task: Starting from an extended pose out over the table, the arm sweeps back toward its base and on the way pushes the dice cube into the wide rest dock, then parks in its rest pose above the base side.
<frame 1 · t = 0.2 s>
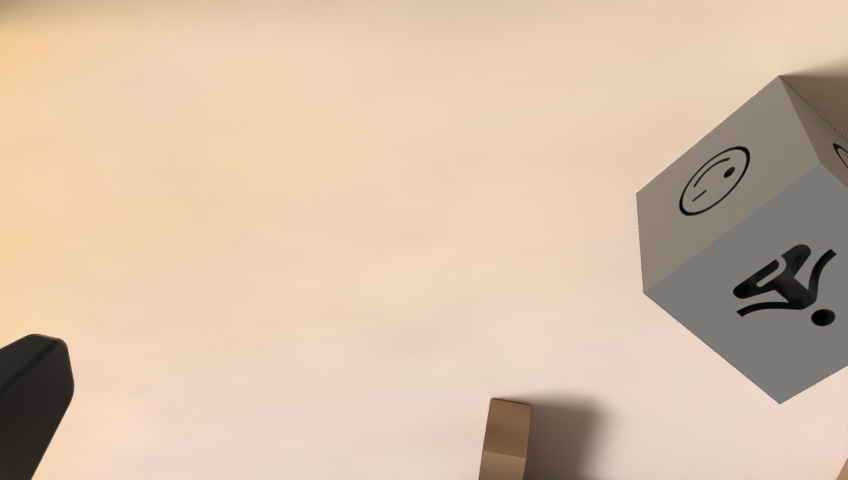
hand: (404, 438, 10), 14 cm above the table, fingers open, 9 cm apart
rest dock: (679, 450, 29), on the table
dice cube: (761, 187, 23), on the table
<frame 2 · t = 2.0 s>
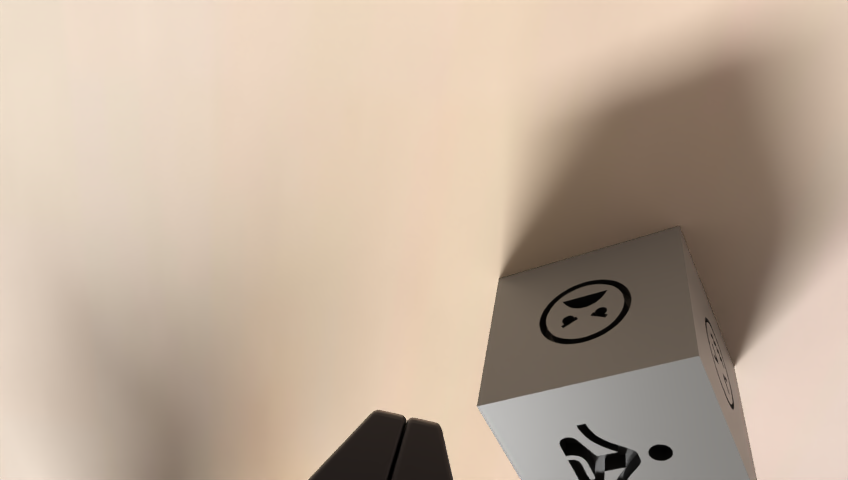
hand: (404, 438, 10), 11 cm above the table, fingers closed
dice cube: (616, 316, 23), on the table
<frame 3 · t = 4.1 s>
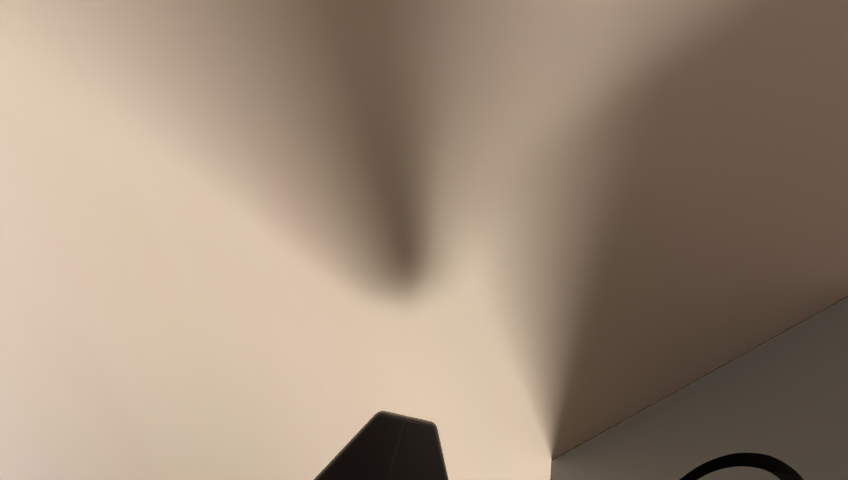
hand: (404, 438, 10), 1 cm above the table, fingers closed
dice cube: (804, 475, 11), on the table, touching gripper
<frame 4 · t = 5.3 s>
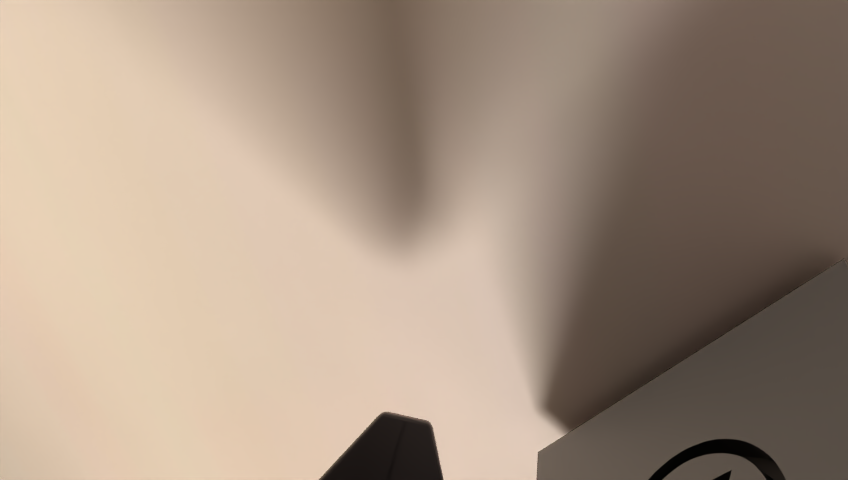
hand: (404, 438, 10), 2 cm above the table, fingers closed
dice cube: (793, 453, 11), on the table, touching gripper
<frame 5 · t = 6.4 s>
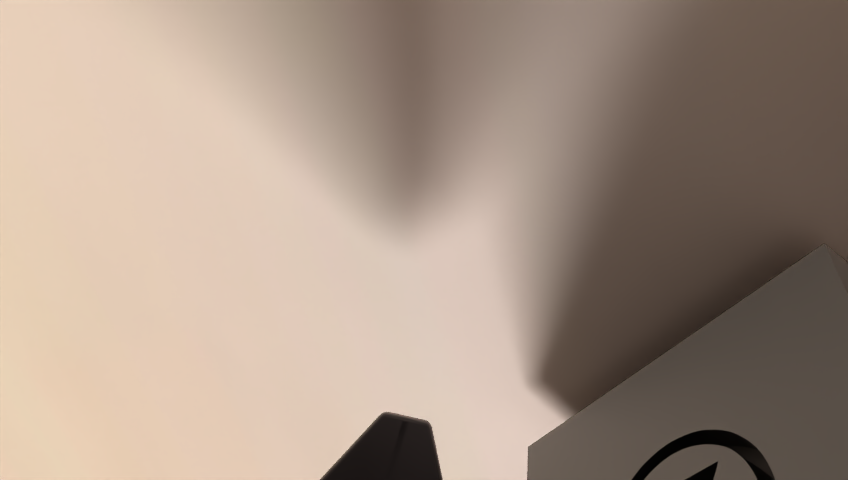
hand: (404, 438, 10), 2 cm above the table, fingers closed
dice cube: (783, 437, 11), on the table, touching gripper
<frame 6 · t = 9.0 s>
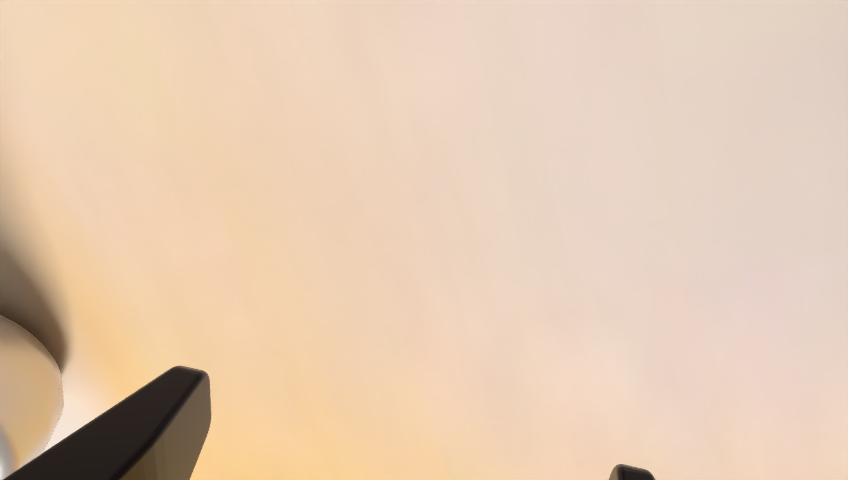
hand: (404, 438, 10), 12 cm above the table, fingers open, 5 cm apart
plastic bottle: (5, 348, 29), on the table
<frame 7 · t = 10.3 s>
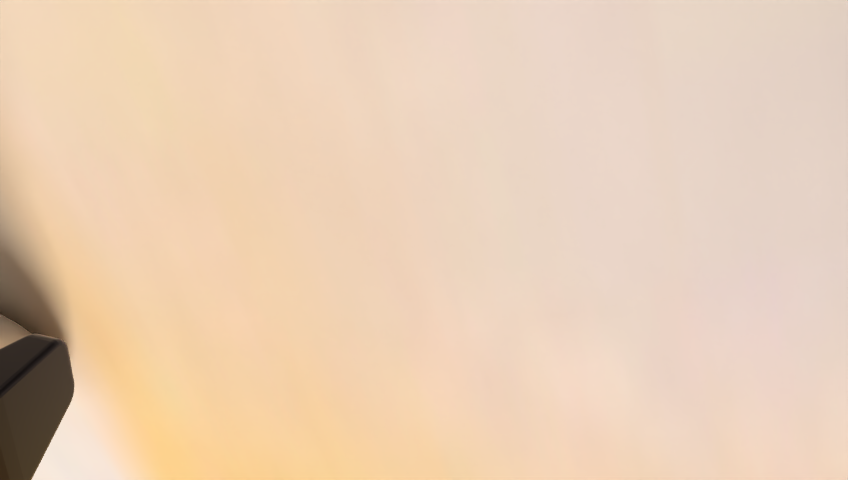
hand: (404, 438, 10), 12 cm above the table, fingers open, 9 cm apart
plastic bottle: (5, 347, 29), on the table
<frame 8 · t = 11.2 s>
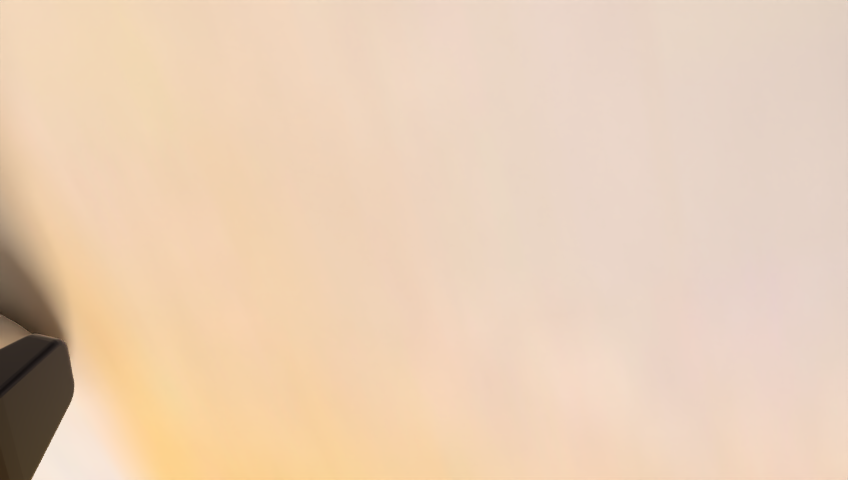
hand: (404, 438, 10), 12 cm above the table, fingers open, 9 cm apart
plastic bottle: (5, 347, 29), on the table
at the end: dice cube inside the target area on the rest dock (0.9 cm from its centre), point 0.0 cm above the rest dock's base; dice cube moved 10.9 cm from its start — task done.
